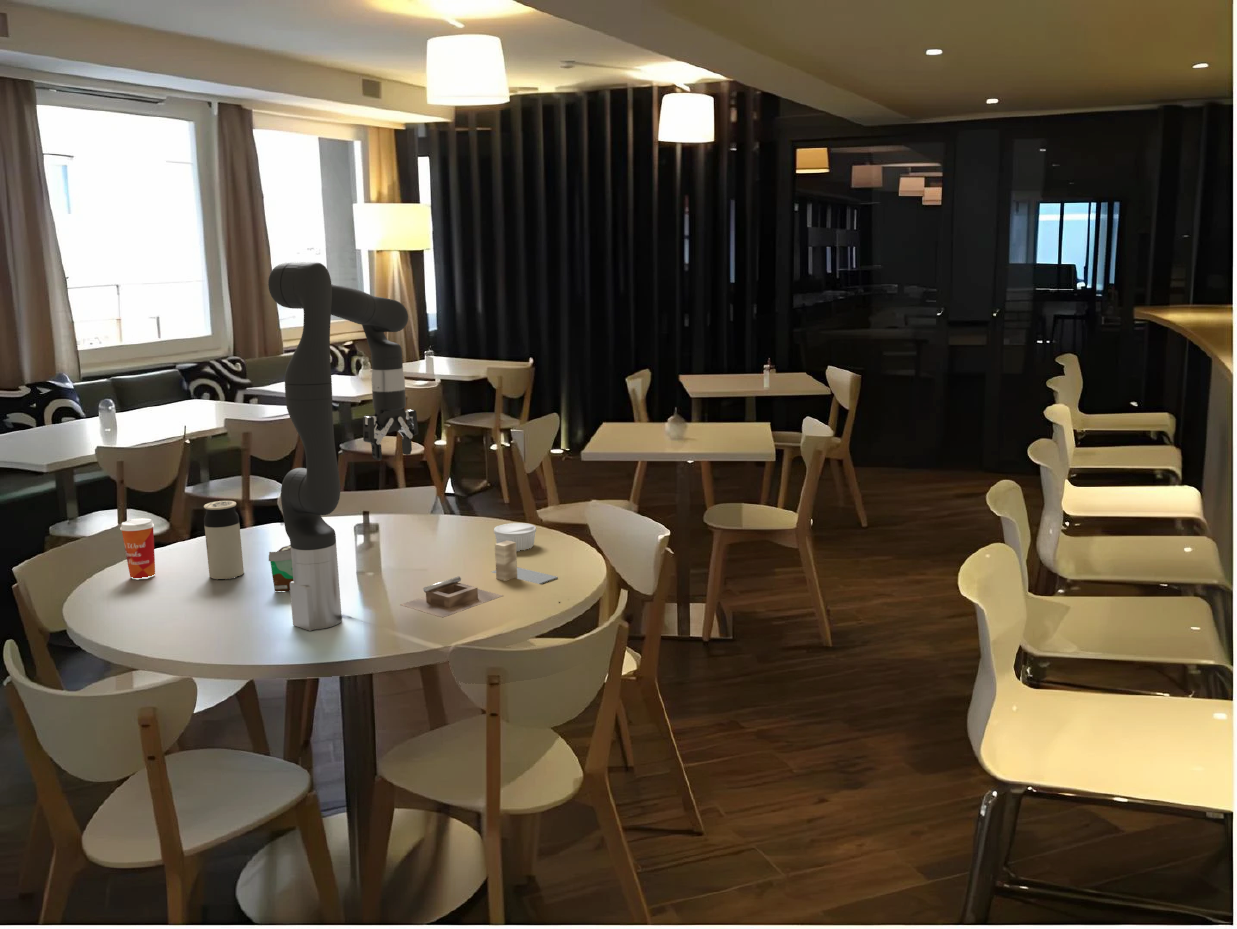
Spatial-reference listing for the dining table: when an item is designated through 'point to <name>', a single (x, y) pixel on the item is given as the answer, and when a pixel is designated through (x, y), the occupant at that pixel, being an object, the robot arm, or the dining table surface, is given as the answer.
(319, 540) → the robot arm
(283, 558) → the food container
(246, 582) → the dining table surface
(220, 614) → the dining table surface
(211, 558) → the travel mug
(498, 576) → the tan wooden block
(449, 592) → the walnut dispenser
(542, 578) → the rubber mat
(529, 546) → the ramekin
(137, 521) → the paper cup
